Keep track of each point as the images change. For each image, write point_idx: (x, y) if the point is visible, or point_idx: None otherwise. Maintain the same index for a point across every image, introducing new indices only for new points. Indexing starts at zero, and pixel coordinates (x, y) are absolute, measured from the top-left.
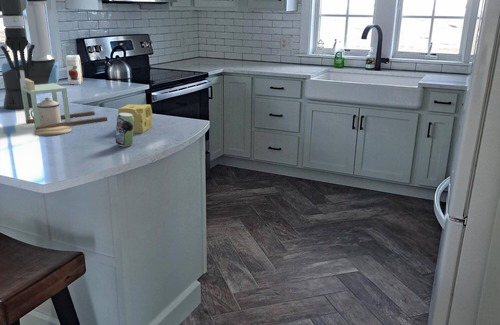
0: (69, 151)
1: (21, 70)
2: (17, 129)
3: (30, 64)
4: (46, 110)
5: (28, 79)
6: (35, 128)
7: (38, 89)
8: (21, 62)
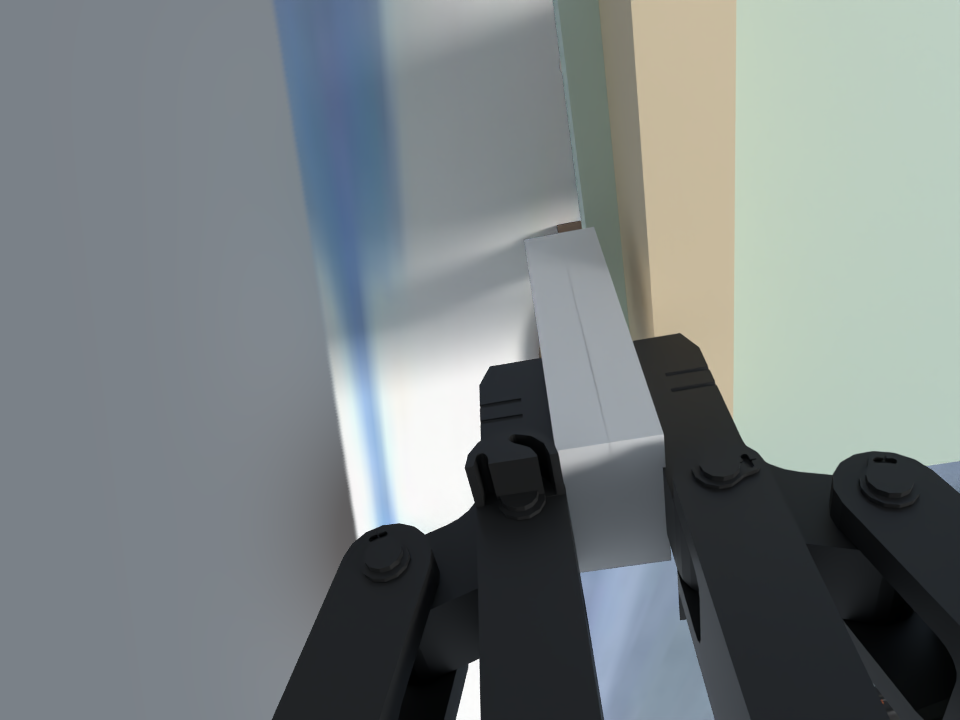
0: (639, 684)
1: (626, 508)
2: (406, 131)
3: (944, 666)
4: None
5: (719, 248)
6: (558, 231)
7: (748, 408)
8: (728, 692)
